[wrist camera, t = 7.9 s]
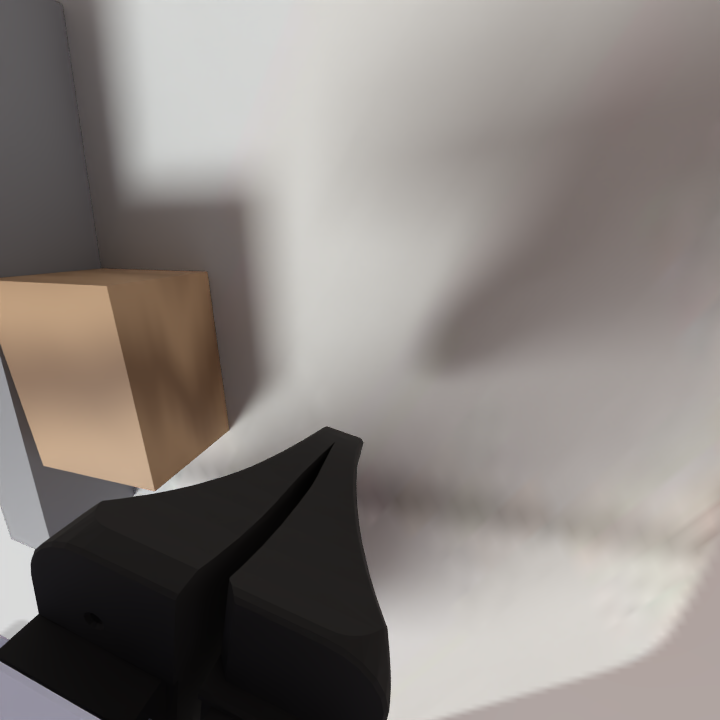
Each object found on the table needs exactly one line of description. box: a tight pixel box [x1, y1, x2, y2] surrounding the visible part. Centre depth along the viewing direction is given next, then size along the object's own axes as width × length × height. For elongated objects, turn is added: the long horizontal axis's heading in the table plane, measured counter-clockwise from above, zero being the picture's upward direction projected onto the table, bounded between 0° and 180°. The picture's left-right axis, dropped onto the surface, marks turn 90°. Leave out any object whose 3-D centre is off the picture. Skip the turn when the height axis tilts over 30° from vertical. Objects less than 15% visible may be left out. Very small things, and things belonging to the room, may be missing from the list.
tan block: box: [0, 268, 229, 491], centre depth 16 cm, size 8×6×5 cm
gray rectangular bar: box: [0, 0, 134, 549], centre depth 16 cm, size 24×3×5 cm, turn 173°
